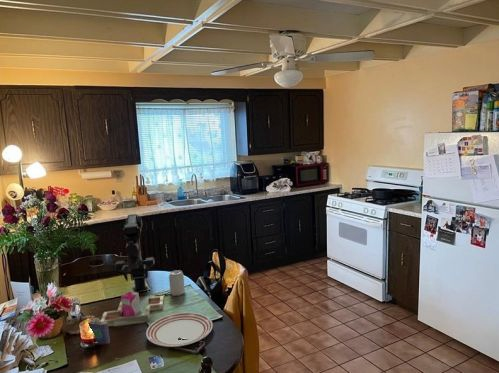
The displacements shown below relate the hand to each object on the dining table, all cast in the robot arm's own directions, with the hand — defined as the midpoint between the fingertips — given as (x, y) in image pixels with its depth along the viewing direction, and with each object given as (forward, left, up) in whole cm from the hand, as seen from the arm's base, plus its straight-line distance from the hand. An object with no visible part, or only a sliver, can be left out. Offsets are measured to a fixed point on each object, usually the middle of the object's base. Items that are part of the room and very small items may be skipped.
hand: (136, 279), depth 189 cm
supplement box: (+14, -9, -12) cm, 21 cm away
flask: (+24, -28, -12) cm, 39 cm away
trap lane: (+9, -6, -12) cm, 16 cm away
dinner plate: (+43, -1, -12) cm, 45 cm away
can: (+6, +19, -12) cm, 23 cm away
